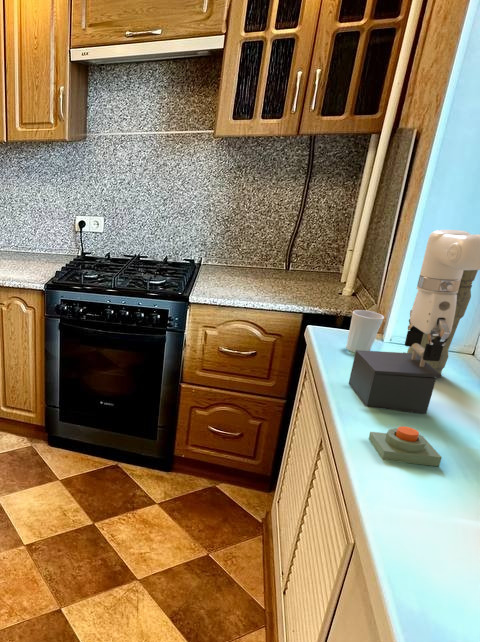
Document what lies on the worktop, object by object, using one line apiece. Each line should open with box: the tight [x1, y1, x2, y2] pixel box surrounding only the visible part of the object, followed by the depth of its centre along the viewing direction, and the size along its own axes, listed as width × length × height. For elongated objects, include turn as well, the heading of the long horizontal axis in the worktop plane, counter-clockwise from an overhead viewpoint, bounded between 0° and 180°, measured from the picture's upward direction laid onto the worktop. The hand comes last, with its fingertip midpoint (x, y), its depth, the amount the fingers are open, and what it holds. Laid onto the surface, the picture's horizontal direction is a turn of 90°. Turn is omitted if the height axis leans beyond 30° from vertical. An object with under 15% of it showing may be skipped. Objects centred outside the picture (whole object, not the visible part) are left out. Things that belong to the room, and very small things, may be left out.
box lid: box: [354, 343, 442, 379], centre depth 129 cm, size 13×14×5 cm
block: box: [368, 427, 443, 467], centre depth 110 cm, size 10×8×4 cm
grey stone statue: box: [406, 270, 479, 375], centre depth 142 cm, size 9×12×35 cm
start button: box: [396, 426, 420, 442], centre depth 109 cm, size 4×4×2 cm
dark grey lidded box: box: [348, 352, 437, 415], centre depth 132 cm, size 13×14×9 cm
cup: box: [345, 309, 385, 353], centre depth 161 cm, size 8×8×12 cm
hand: (421, 353), depth 127 cm, fingers open, 9 cm apart
